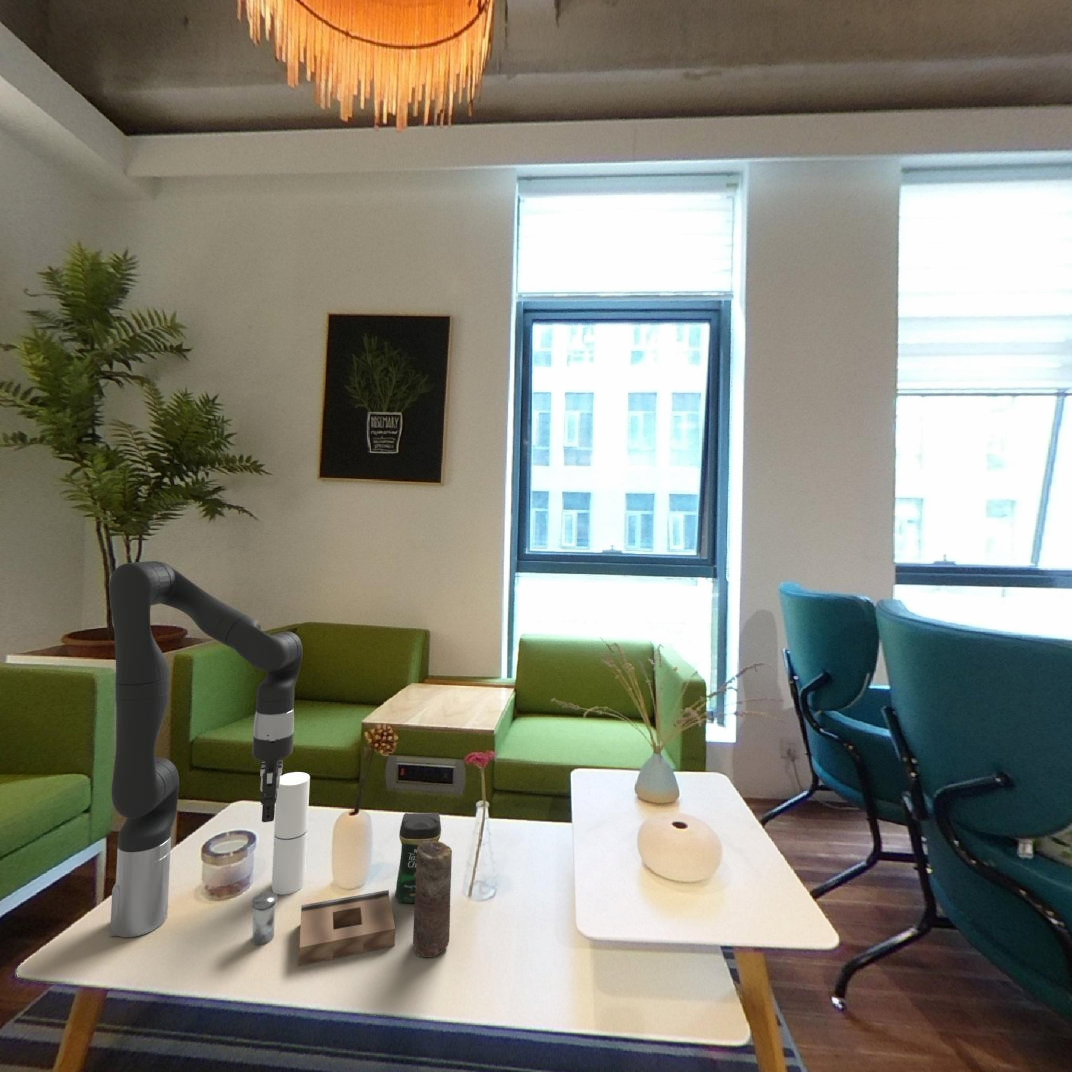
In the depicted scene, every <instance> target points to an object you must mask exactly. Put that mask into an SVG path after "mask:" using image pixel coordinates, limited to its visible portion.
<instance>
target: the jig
mask: <svg viewBox="0 0 1072 1072" xmlns="http://www.w3.org/2000/svg"><path fill="white" fill-rule="evenodd" d="M300 907H301V908H300V924H299V925H300V926H299V927H300V928H299V948H298V949H299V950H298V951H299V952H298V953H299V955H298V966H299V967H300V966H304V965H308V964H314V963H318V962H322V961H328V960H332V959H337V958H341V957H347V956H352V955H356V954H361V953H365V952H371V951H375V950H380V949H385V948H390V947H394V946H395V942H396V926H395V920H394V919H395V918H394V914H393V910H392V909H393V908H392V904H391V899H390V890H389V889H387V890H381V891H376V892H375V891H374V892H369V893H364V894H358V895H352V896H351V895H350V896H346V897H341V898H335V899H329V900H322V901H318V902H312V903H307V904H302V905H300ZM347 926H348V927H347Z"/></svg>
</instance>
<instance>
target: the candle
mask: <svg viewBox="0 0 1072 1072" xmlns="http://www.w3.org/2000/svg"><path fill="white" fill-rule="evenodd" d="M452 854H453V850H452V848H451V847H450V846H449V845H447V844H446V843H444V842H442V841H435V842H427V843H422V844H420V845H419V846H418V848H417V864H416V890H415V903H414V909H413V910H414V912H413V931H412V933H413V934H412V945H413V948H414V952H415V953H416V954H417V956H418V957H421V958H433V957H436V956H437V955H438V954H440V953H442V952H443V951H445V950H446V948H447V947H448V946H449V943H450V936H451V934H450V929H451V888H452V884H451V883H452V859H453V858H452V857H453V855H452Z"/></svg>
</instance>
